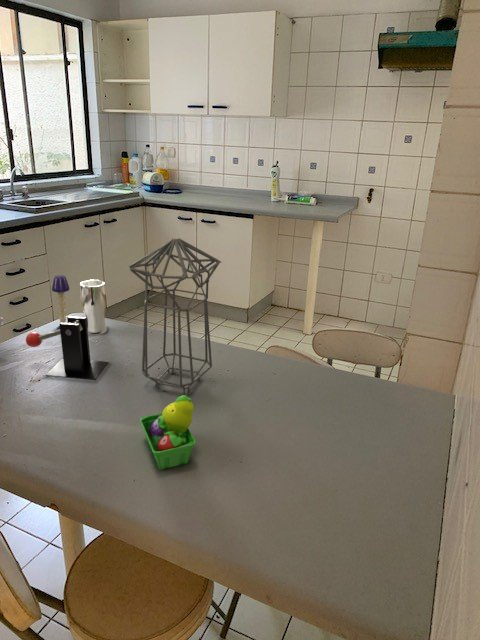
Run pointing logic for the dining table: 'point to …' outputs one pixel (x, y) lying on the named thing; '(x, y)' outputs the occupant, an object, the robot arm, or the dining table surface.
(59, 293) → the toy lamp
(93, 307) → the silver metal vase
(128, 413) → the dining table surface
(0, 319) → the robot arm
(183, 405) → the fruit basket
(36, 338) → the switch lever
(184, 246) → the geometric lantern
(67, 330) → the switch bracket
